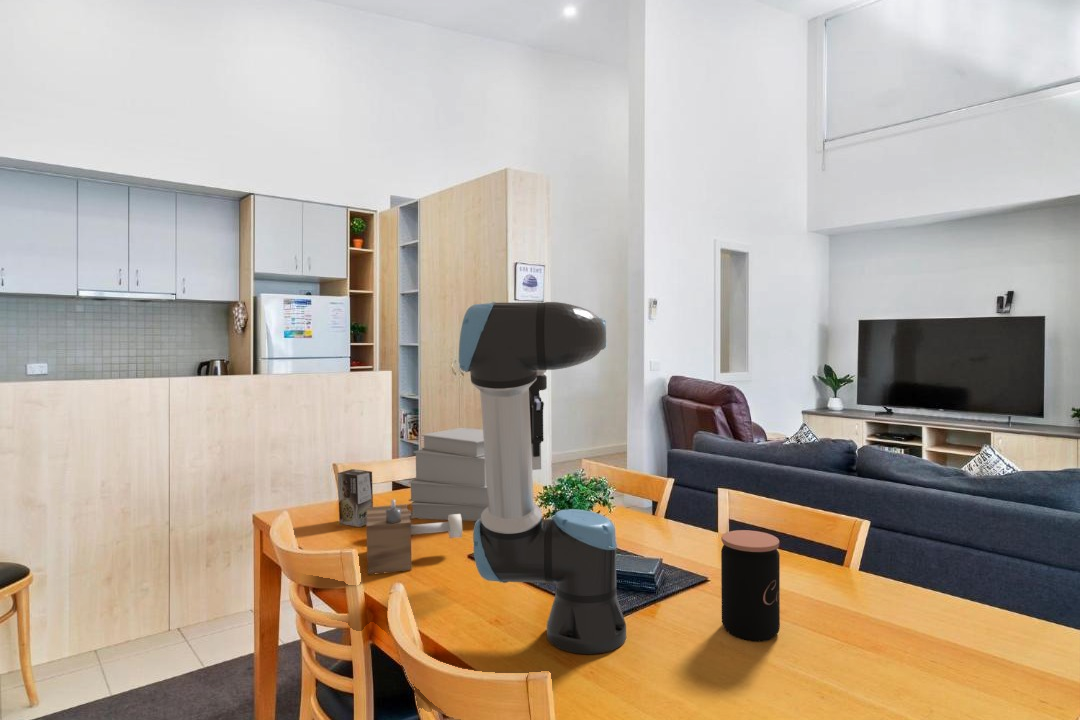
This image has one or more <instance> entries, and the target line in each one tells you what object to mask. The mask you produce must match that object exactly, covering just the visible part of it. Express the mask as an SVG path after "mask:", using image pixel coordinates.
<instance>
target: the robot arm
mask: <svg viewBox="0 0 1080 720" xmlns="http://www.w3.org/2000/svg"><path fill="white" fill-rule="evenodd" d="M463 316H464V317H463V320H462V323H461V327H460V335H459V343H458V363H459V368H460V371H463V372H465V373H468V372H469V373H470V383H471V384H472V385H473V386H474V387H475V388H476V389H478V391H480V393H479V394H480V404H481V405H480V407H481V420H482V430H483V437H484V452H485V466H486V481H487V495H488V507H487V508H485V509H484V511H483V512H482V514H481V519H478V520H477V521H475V523H474V526H473V534H472V541H473V557H474V562H475V566H476V568H477V572H478V573H479V575H480V577H481V578H483V579H484V580H486V581H488V582H499V583H502V584H505V583H554V584H555V596H554V600H553V603H552V606H551V609H550V612H549V616H548V619H547V621H546V637H547V640H548V642H549V643H550V644H551V645H553V646H554V647H556V648H557V649H560V650H563V651H564V652H569V653H572V654H577V655H579V654H580V655H595V654H596V655H597V654H603V653H608V652H610V651H615V650H616V649H618V648H620V647H621V646H622V645H623V644H624V643H625V641H626V639H627V624H626V621H625V618H624V614H623V611H622V608H621V605H620V602H619V599H618V597H617V593H618V592H617V556H616V554H617V552H616V551H617V549H618V543H617V541H616V540H617V536H616V528H615V524H614V523H613V522H612V520H611V519H610V518H608V517H607V516H605V515H604V514H603V515H602V514H600V513H598V512H594V511H589V510H584V509H578V508H575V509H574V508H568V509H561V510H558V511H556V512H555V513H554V516H553V518H543V512H542V509H541V507H539V505H537V504H536V503H534V502H535V500H534V480H533V479H534V478H533V476H534V475H533V471H534V470H536V471H537V470H542V442H544V439H545V438H544V406H545V403H544V401H542V397H541V396H540V391H545V390H547V388H548V387H547V386H548V385H547V384H548V383H547V382H548V380H547V377H548V376H547V375H546V374H545V373H546V372H547V371H553V370H554V371H555V370H561V369H562V370H563V369H567V368H571V367H574V366H578V365H581V364H583V363H585V362H588V361H591V360H592V359H594V358H595V357H597V355H599V353H600V352H601V351H603V350H605V349H606V347H607V322H606V319H605V318H602V317H600V316H599V315H597V314H595V312H592V311H591V310H589V309H586V308H583V307H582V306H578V305H574V304H570V303H565V302H559V301H545V302H496V301H492V302H489V303H479V304H477V303H476V304H473V305H471V306H469V307H468V308H467V310H466V311H465V314H464V315H463Z"/></svg>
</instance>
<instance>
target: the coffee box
mask: <svg viewBox="0 0 1080 720" xmlns="http://www.w3.org/2000/svg"><path fill="white" fill-rule="evenodd" d="M337 489H338V490H337V492H338V493H337V495H338V496H337V497H338V518H339V524H341V525H347V526H351V527H357V528H361V527H363V526H367V507H374V502H373V501H374V499H373V498H374V495H373V471H370V470H365V469H363V470H362V469H354V468H353V469H352V468H351V469H347V470H344V471H341V472H340V471H339V472H337Z"/></svg>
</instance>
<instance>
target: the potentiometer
mask: <svg viewBox="0 0 1080 720" xmlns="http://www.w3.org/2000/svg"><path fill="white" fill-rule="evenodd" d="M390 504H391V505H390V506H391V508H389V509H386V523H388V524H395V523H399V522H401V509H400V508H395V505H396V499H391V500H390Z"/></svg>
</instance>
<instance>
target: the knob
mask: <svg viewBox="0 0 1080 720" xmlns="http://www.w3.org/2000/svg"><path fill="white" fill-rule="evenodd" d="M442 532H448V537H449V538H450V539H454V538H462V537H463V520H462V519H461V514H452V515H448V520H447V521H442V522H430V523H420V524H417V523H416V524H412V525H411V535H412V536H413V535H421V534H433V533H442Z"/></svg>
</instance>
